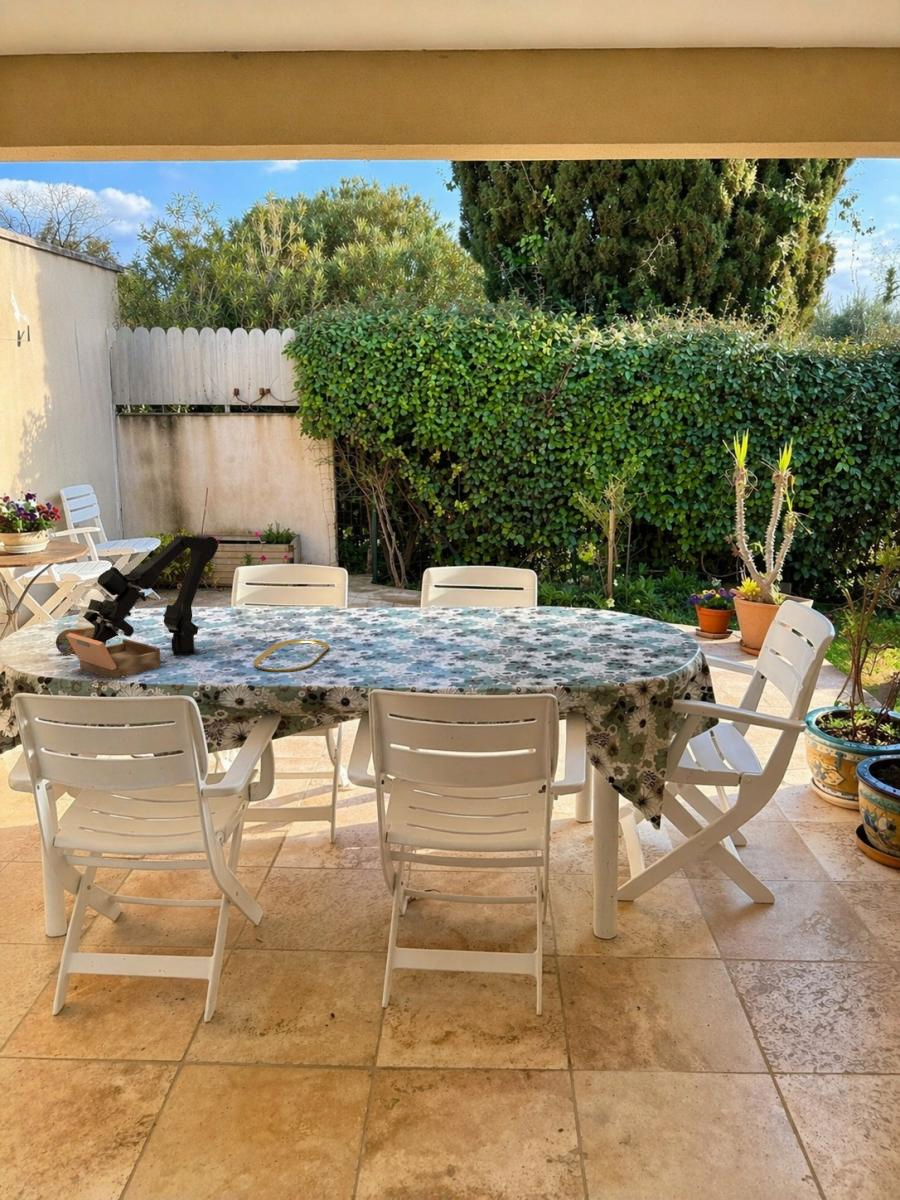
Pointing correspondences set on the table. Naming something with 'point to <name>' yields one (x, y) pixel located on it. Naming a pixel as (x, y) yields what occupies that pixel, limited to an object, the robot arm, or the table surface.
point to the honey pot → (84, 605)
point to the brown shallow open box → (127, 659)
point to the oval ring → (283, 645)
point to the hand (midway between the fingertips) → (91, 647)
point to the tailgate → (91, 651)
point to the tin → (64, 643)
